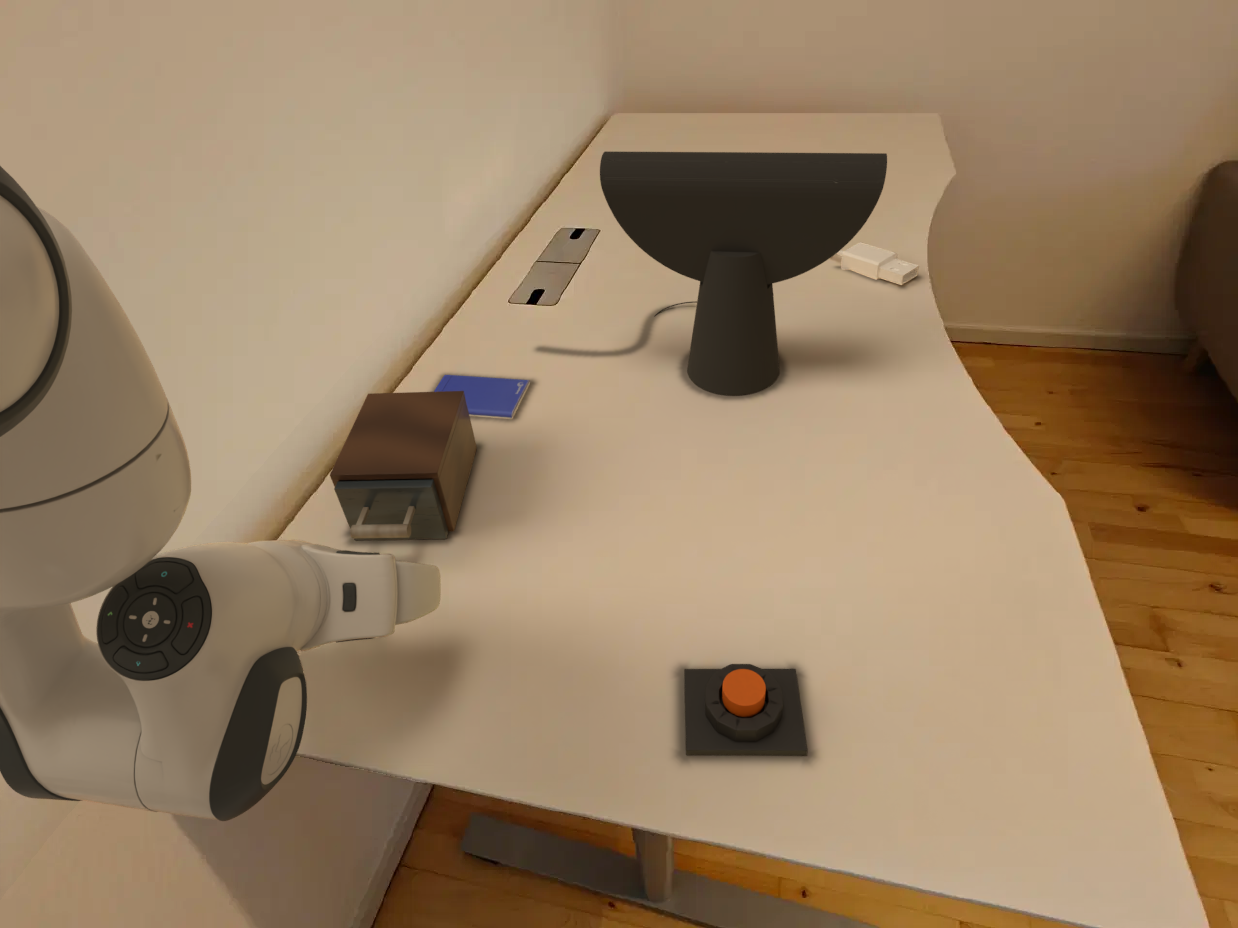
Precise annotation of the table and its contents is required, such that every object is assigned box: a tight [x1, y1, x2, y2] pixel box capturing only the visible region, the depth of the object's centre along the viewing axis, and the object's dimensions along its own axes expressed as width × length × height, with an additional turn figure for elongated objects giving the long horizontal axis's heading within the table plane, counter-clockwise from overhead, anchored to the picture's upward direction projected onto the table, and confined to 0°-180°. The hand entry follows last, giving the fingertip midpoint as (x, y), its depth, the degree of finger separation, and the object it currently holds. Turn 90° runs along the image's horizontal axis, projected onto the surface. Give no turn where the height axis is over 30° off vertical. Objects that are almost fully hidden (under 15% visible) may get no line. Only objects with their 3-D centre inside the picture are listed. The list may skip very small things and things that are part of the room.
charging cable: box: [835, 241, 920, 286], centre depth 134 cm, size 5×32×3 cm, turn 41°
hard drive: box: [433, 374, 531, 420], centre depth 109 cm, size 2×8×12 cm
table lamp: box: [599, 151, 888, 397], centre depth 104 cm, size 40×28×30 cm
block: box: [683, 663, 808, 757], centre depth 70 cm, size 8×10×4 cm
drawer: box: [334, 478, 449, 541], centre depth 90 cm, size 18×10×8 cm, turn 177°
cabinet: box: [329, 391, 478, 533], centre depth 93 cm, size 15×12×10 cm
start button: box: [722, 669, 766, 717], centre depth 69 cm, size 4×4×2 cm
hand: (354, 584), depth 77 cm, fingers closed
